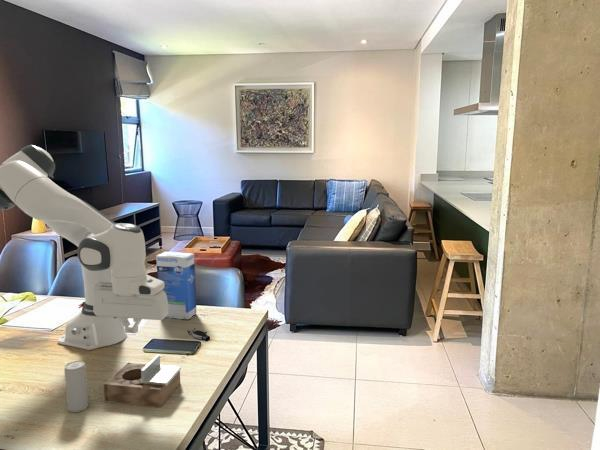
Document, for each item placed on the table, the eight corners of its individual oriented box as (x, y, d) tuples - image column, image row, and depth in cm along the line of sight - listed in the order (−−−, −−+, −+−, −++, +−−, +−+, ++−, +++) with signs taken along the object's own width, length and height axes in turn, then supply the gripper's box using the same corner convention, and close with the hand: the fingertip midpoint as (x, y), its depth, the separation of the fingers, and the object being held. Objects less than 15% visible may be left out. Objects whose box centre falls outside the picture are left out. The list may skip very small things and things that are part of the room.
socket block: (105, 401, 117) (103, 383, 117) (129, 378, 129) (128, 362, 128) (161, 407, 115) (160, 389, 114) (180, 383, 127) (179, 367, 126)
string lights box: (197, 314, 180) (195, 253, 176) (188, 321, 173) (186, 257, 168) (168, 311, 183) (165, 251, 179) (158, 317, 176) (155, 255, 171)
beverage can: (72, 402, 117) (69, 360, 115) (91, 402, 117) (88, 360, 115) (64, 413, 112) (60, 369, 110) (84, 412, 112) (80, 369, 110)
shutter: (141, 383, 117) (140, 370, 116) (157, 367, 125) (157, 354, 125) (166, 385, 115) (165, 372, 115) (180, 369, 124) (180, 356, 124)
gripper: (86, 285, 116) (89, 334, 119) (160, 289, 114) (161, 339, 116) (100, 278, 123) (102, 325, 125) (170, 282, 120) (171, 330, 123)
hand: (131, 332), depth 121 cm, fingers closed
